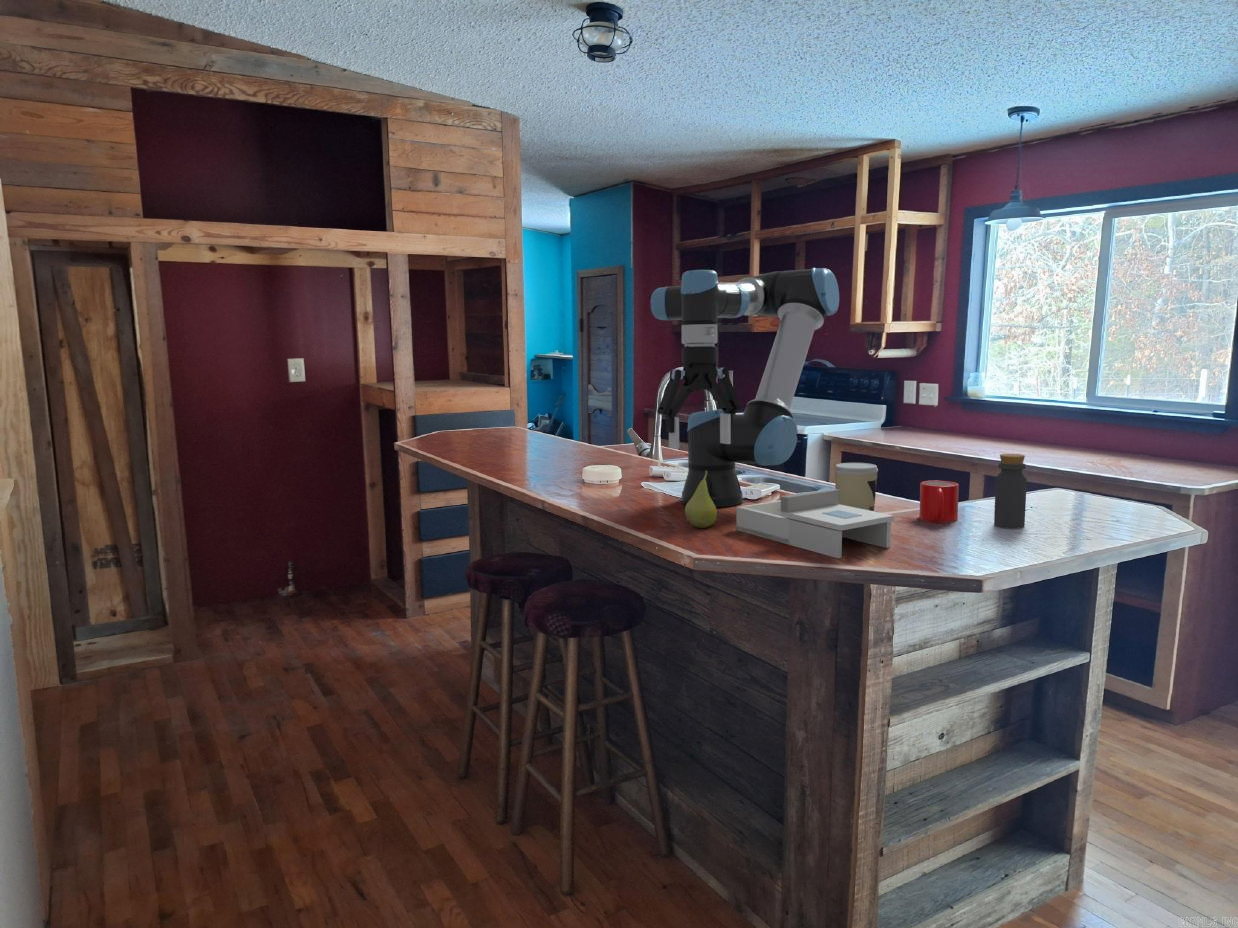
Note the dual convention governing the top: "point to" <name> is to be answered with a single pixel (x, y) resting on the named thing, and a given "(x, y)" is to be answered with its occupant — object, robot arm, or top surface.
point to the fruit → (701, 507)
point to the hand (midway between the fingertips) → (700, 446)
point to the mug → (939, 501)
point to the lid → (828, 511)
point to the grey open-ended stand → (805, 530)
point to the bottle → (1010, 492)
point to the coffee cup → (856, 484)
